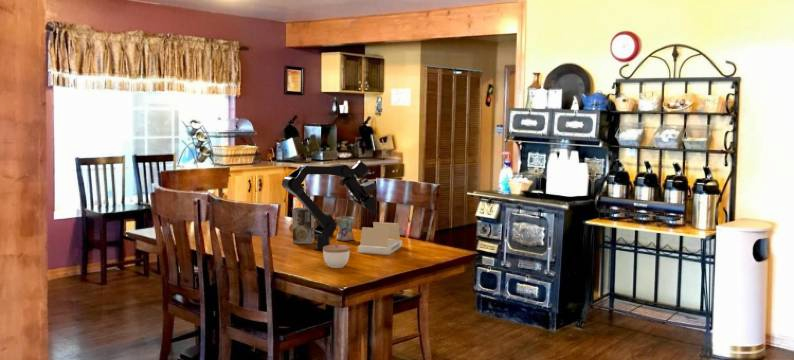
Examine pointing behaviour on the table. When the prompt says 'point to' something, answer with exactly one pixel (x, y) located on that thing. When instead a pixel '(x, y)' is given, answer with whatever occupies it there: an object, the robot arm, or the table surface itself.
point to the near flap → (374, 237)
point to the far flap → (392, 227)
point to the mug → (345, 228)
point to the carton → (381, 248)
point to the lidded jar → (336, 255)
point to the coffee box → (303, 226)
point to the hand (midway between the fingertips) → (372, 210)
